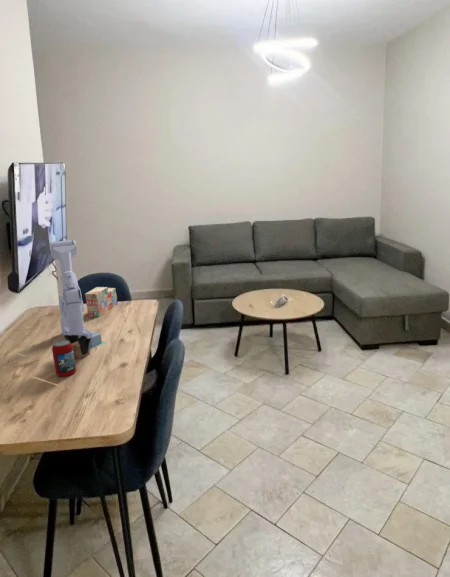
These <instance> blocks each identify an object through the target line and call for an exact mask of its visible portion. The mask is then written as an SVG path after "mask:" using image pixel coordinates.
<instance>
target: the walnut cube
mask: <svg viewBox="0 0 450 577" xmlns="http://www.w3.org/2000/svg"><path fill="white" fill-rule="evenodd" d="M72 347H73V353H74V359H83V358H84V357H86V356H89V355H91V349H89V347H88V353H87V354H85V355H83V354H82V352H81V348H80V345H79V343H78V341H77V342H74V343H72Z"/></svg>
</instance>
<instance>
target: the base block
mask: <svg viewBox="0 0 450 577" xmlns="http://www.w3.org/2000/svg"><path fill="white" fill-rule="evenodd" d="M91 332H92V338H91V340H90V343H89V347H94V346H97V345H99V344H101V343H102V335H101V333H97V332H93V331H91ZM80 337H81V336H78V338H80ZM99 346H100V345H99ZM97 347H98V346H97Z"/></svg>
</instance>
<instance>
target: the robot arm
mask: <svg viewBox="0 0 450 577" xmlns="http://www.w3.org/2000/svg"><path fill="white" fill-rule="evenodd" d="M49 247H50V253H51V257H52V259H54V260H58V261H59V265H60V271H61V273H60V274H61V275H60V280H61V282H60V283H61V286H62V287H61V288H62V292H61V295H60V297H59V298H58V305H59V313H60V315H61V316H60V319H59V321H60V322H59V323H60V328H61V333H60V335H63V336H64V340H69V341H70V343H71V344H72V343H74V342H77V341H78V343H79V345H80V348H81V352H82V354H83V355H85V354H87V353H88V347H89V343H90V340H91V338H92V332H93V331H89V330H88V329H86V328H85V321H84V314H83V313H84V311H85V306H84V301H83V298H82V297H83V296H82V291H81V288H80V285H79V283H78V278H77V277H78V276H77V273H75V272H74V271H73V264H72V263H73V262H72V259H74V258H75V257H76V255H77V254H78V249H77V242H76V240H75V239H68V240H61V241H60V240H59V241H50V243H49ZM78 336H81V337H80V338H78Z"/></svg>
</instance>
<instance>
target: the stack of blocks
mask: <svg viewBox="0 0 450 577" xmlns="http://www.w3.org/2000/svg"><path fill="white" fill-rule="evenodd" d="M116 290H117V289H116V287H108V286H105V287H104V286H96V287H94V288H92V289H91V290H89V291H87V292H86V293H84V296H85V303H86V309H87V316H88V318H90V317H91V318H93V317H94V318H95V317H96V318H100V317H102V316H103V315H104V314H106V313H108V310H109V311H110V310H111V309H113V308H115V307H116V306H117V305H118V295H117V291H116Z"/></svg>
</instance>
